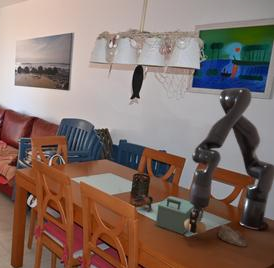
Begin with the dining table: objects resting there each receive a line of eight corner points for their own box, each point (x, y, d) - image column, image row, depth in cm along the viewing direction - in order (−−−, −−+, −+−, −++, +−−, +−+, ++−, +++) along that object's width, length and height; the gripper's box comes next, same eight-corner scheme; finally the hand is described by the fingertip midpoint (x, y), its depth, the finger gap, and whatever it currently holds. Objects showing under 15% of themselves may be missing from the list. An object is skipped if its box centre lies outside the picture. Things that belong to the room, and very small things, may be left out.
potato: (206, 233, 146) (208, 222, 145) (203, 237, 142) (205, 225, 141) (185, 226, 151) (187, 215, 150) (181, 230, 147) (183, 219, 146)
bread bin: (182, 234, 152) (186, 214, 150) (155, 225, 160) (158, 205, 158) (192, 223, 165) (196, 204, 163) (167, 215, 173) (169, 197, 171)
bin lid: (185, 214, 150) (187, 205, 149) (157, 206, 158) (159, 197, 157) (196, 204, 163) (197, 195, 162) (169, 197, 171) (171, 188, 170)
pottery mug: (146, 214, 173) (139, 199, 174) (133, 215, 181) (127, 201, 182) (160, 205, 179) (153, 190, 180) (147, 206, 187) (141, 192, 188)
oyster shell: (223, 243, 146) (225, 233, 145) (214, 231, 158) (216, 221, 157) (247, 247, 144) (249, 237, 143) (236, 234, 156) (238, 224, 155)
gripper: (205, 200, 135) (199, 239, 139) (213, 192, 146) (207, 228, 149) (186, 195, 140) (180, 232, 143) (195, 187, 151) (190, 222, 154)
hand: (194, 230), depth 146 cm, fingers closed on potato, 5 cm apart
